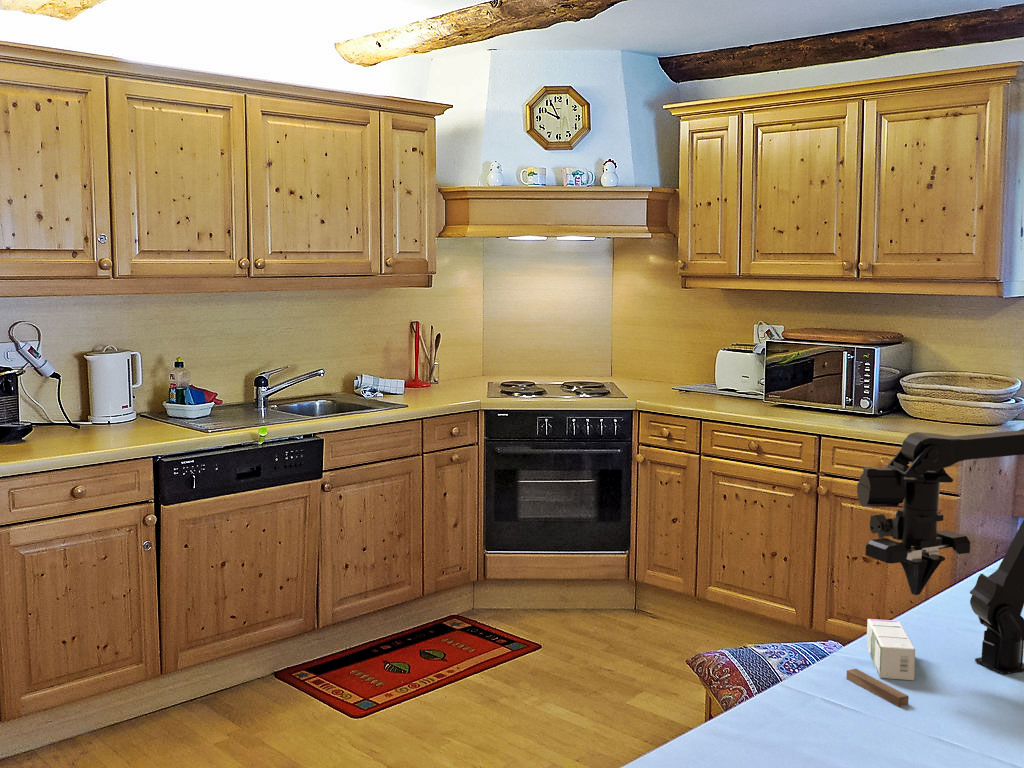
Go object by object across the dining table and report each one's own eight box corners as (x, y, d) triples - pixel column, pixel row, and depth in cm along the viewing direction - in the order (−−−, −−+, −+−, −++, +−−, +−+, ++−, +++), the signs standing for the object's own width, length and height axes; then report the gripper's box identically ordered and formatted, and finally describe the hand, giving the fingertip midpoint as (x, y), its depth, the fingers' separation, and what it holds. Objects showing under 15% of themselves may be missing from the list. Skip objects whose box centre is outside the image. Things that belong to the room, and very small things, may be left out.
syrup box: (916, 648, 175) (901, 619, 189) (879, 646, 176) (867, 617, 190) (914, 681, 175) (899, 650, 189) (878, 678, 176) (865, 647, 190)
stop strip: (855, 677, 177) (856, 668, 177) (908, 704, 166) (908, 695, 166) (846, 678, 176) (846, 670, 176) (898, 706, 165) (899, 697, 165)
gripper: (925, 492, 189) (921, 575, 191) (845, 501, 182) (841, 587, 184) (975, 506, 179) (969, 593, 181) (891, 515, 172) (886, 606, 174)
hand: (915, 594), depth 180 cm, fingers closed
